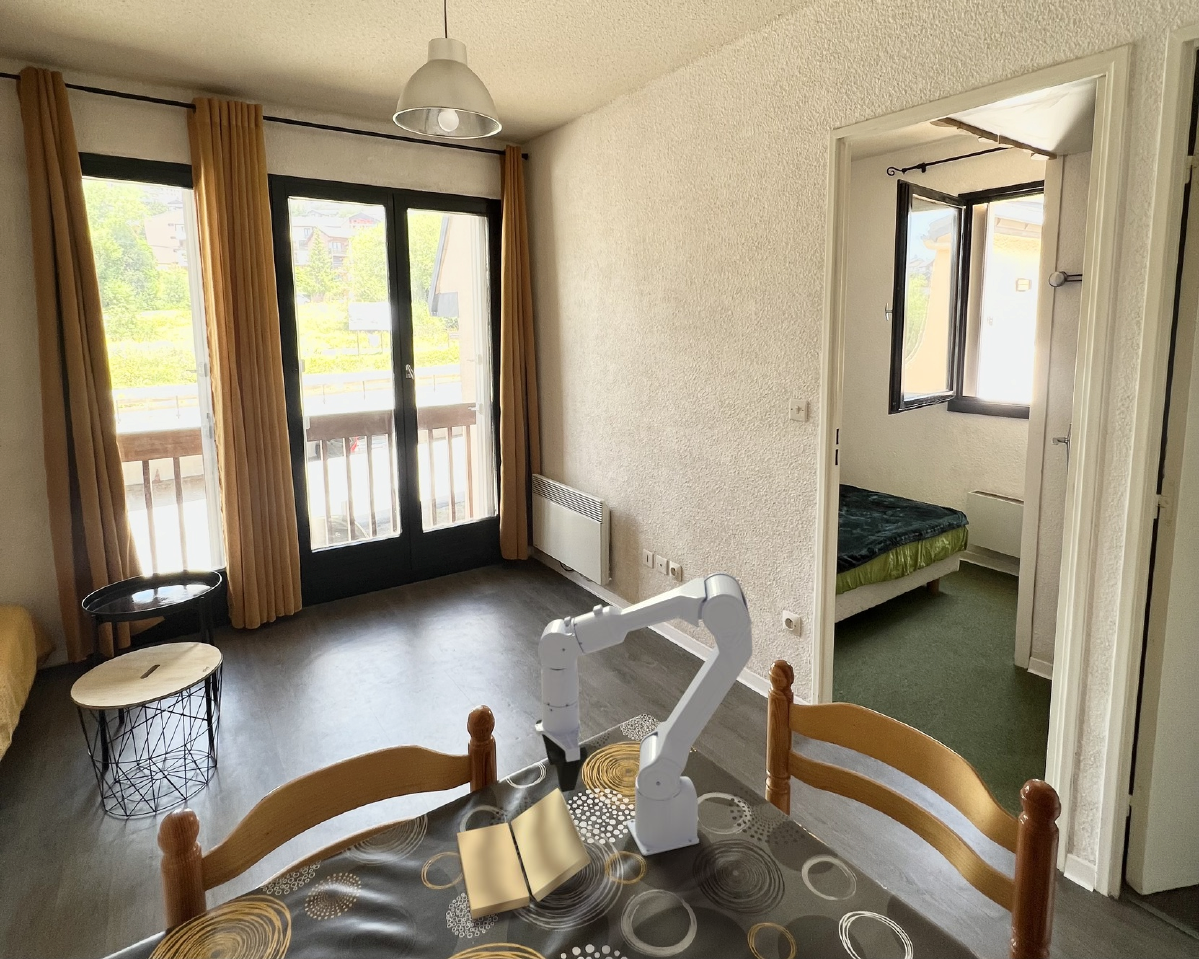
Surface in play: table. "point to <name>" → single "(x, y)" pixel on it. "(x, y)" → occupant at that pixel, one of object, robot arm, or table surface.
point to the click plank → (549, 844)
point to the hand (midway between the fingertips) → (561, 776)
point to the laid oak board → (491, 870)
